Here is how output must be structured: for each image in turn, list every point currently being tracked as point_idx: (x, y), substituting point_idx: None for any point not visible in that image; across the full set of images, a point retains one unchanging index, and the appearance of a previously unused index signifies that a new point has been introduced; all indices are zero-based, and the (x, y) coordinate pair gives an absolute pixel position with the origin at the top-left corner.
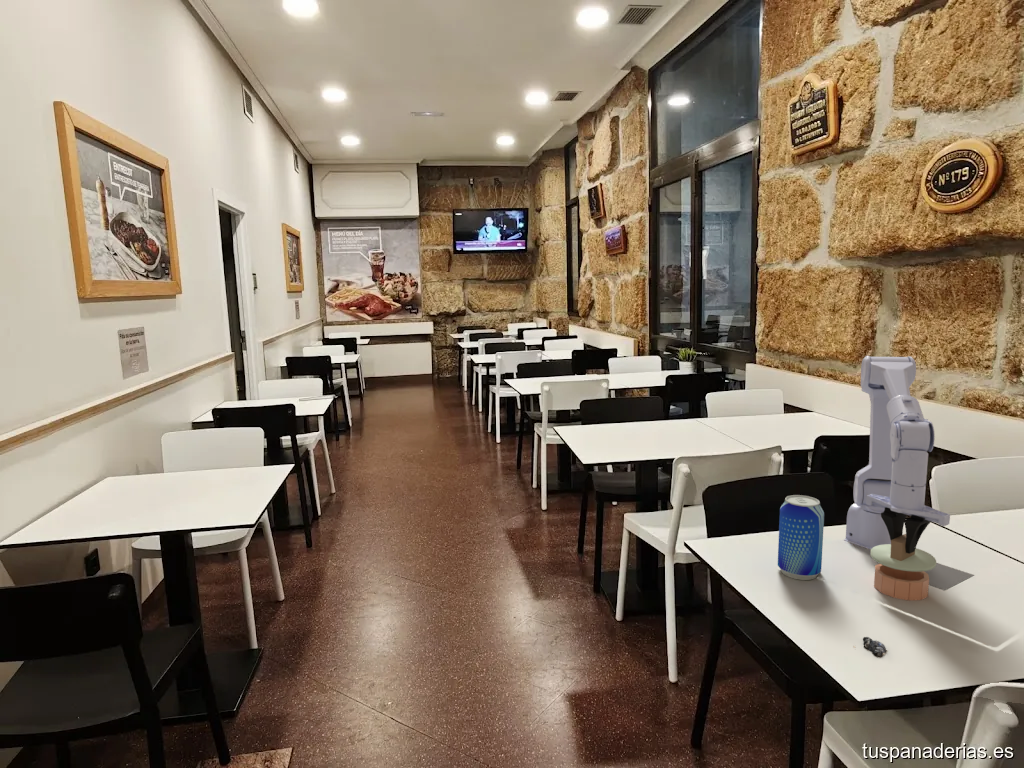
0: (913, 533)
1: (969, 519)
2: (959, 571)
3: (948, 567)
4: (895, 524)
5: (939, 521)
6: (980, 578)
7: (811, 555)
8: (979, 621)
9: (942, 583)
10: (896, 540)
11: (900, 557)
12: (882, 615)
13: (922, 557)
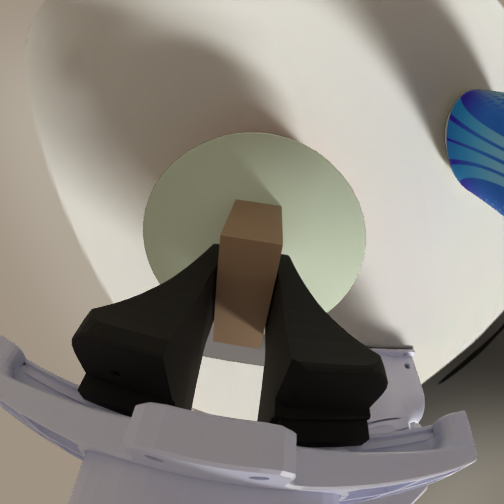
0: (148, 292)
1: None
2: (213, 354)
3: (233, 359)
4: (278, 345)
5: (4, 358)
6: None
7: (493, 109)
8: (95, 181)
9: None
10: (259, 258)
11: (235, 204)
12: (236, 28)
13: None
